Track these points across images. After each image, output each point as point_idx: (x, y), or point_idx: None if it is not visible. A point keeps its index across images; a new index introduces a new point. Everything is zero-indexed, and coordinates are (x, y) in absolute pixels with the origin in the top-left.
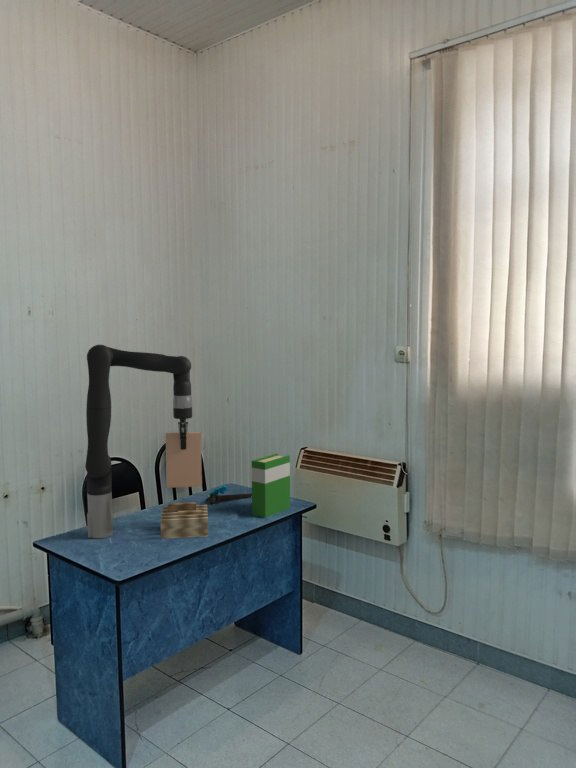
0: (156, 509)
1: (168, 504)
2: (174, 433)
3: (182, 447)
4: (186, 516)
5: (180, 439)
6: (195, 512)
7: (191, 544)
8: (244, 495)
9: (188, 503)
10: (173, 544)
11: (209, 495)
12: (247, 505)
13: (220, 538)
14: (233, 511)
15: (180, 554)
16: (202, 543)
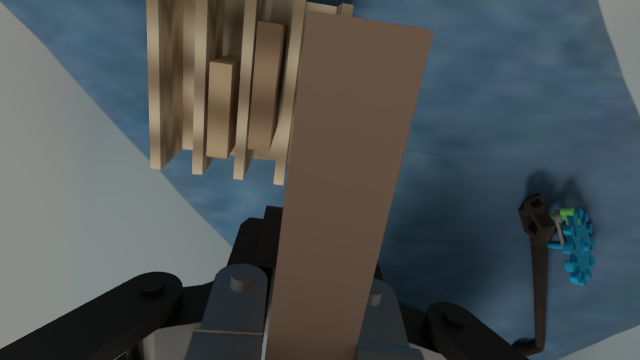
0: (574, 4)
1: (264, 23)
2: (294, 254)
3: (241, 231)
4: (194, 93)
5: (142, 279)
6: (208, 133)
7: (139, 85)
8: (538, 309)
9: (257, 118)
10: (146, 24)
11: (568, 215)
12: (462, 297)
13: (181, 178)
14: (422, 254)
15: (46, 36)
16: (144, 121)
